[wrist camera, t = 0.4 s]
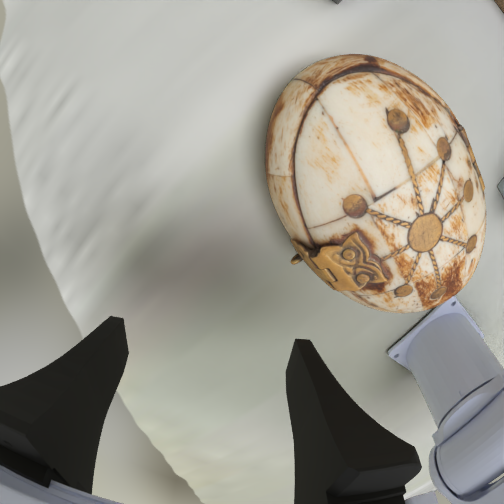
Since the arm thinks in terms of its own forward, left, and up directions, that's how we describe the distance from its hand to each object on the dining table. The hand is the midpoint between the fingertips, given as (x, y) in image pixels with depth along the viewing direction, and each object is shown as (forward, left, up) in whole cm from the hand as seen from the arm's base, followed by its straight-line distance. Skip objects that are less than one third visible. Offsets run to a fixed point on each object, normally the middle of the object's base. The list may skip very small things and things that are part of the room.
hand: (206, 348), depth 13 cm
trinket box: (-4, -10, -10) cm, 15 cm away
